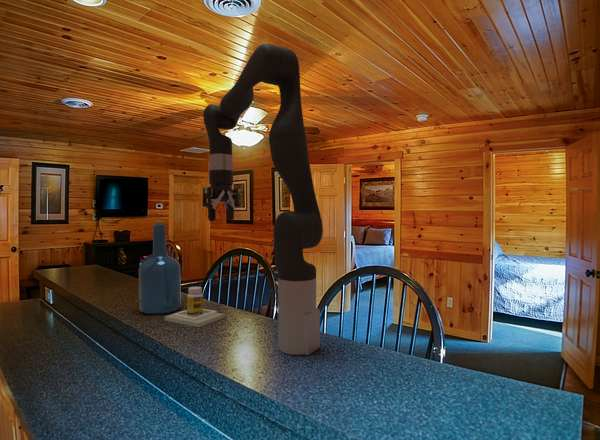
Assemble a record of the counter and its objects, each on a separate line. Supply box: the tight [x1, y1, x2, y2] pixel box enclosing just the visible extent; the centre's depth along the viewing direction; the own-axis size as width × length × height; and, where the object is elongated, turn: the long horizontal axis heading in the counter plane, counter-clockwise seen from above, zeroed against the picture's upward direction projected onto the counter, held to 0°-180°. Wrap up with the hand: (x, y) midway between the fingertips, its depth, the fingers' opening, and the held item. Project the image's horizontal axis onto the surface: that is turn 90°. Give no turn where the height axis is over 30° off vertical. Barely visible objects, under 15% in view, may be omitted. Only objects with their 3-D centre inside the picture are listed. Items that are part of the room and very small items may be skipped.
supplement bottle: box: [186, 286, 204, 317], centre depth 119 cm, size 5×5×8 cm
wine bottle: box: [138, 220, 182, 315], centre depth 129 cm, size 14×13×30 cm
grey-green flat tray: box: [164, 308, 225, 328], centre depth 119 cm, size 14×11×2 cm
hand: (221, 220), depth 123 cm, fingers open, 8 cm apart
